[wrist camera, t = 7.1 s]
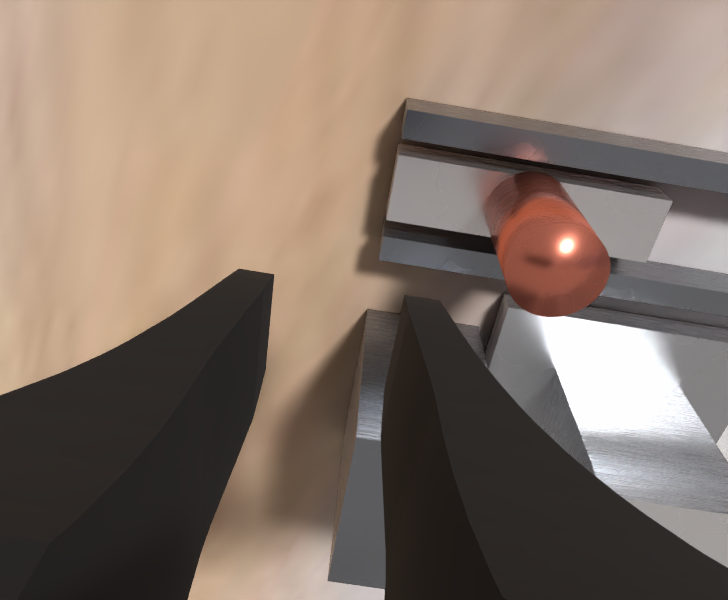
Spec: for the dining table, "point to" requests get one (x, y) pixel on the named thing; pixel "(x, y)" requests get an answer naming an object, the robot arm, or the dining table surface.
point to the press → (532, 332)
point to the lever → (531, 220)
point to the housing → (646, 454)
